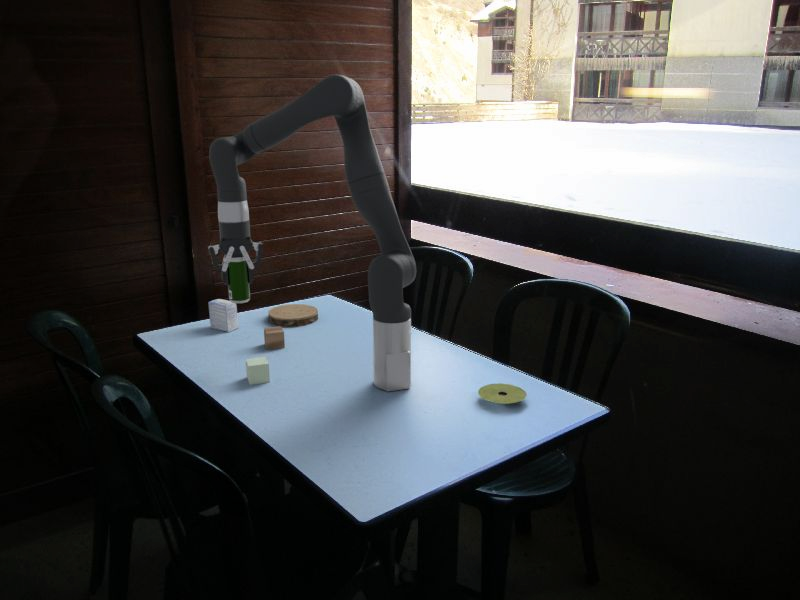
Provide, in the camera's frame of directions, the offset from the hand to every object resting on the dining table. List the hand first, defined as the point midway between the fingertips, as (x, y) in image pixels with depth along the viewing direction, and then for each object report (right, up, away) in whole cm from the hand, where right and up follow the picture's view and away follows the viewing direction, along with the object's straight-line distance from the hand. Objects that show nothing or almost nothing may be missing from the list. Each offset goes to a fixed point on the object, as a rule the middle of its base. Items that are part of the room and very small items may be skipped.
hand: (238, 283), depth 170 cm
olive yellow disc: (+66, -28, -16) cm, 73 cm away
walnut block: (+6, -18, +20) cm, 27 cm away
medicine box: (-13, -13, +35) cm, 39 cm away
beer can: (0, -5, +1) cm, 5 cm away
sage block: (+6, -24, -4) cm, 25 cm away
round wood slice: (+7, -11, +44) cm, 46 cm away
